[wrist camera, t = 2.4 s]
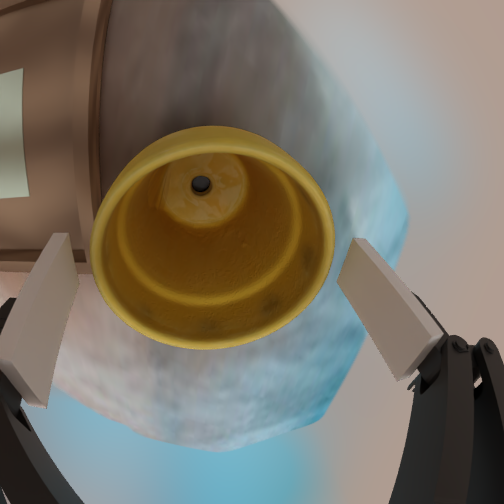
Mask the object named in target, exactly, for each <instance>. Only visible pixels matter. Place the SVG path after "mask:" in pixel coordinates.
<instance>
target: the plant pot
mask: <svg viewBox="0 0 504 504" xmlns="http://www.w3.org/2000/svg"><path fill="white" fill-rule="evenodd" d="M197 176H204V177H207V178H208V179H209V180H210V186H209V188H208V189H207V190H206V191H205V192H197V191H195V190H194V189H193V187H192V181H193V179H194V178H195V177H197ZM334 247H335V230H334V222H333V218H332V213H331V210H330V207H329V205H328V202H327V200H326V198H325V196H324V194H323V192H322V190H321V189H320V187H319V186H318V184H317V183H316V182H315V180H314V179H313V178H312V176H311V175H310V174H309V173H308V172H307V171H306V170H305V169H304V168H303V167H302V166H301V165H300V164H299V163H298V162H297V161H296V160H295V159H293V158H292V157H291V156H290V155H289V154H287V153H286V152H285V151H284V150H282V149H281V148H279V147H278V146H277V145H275V144H274V143H272V142H270V141H269V140H267V139H265V138H263V137H261V136H259V135H257V134H254V133H251V132H249V131H245V130H242V129H238V128H233V127H226V126H200V127H193V128H189V129H184V130H180V131H177V132H174V133H172V134H169V135H167V136H165V137H163V138H161V139H159V140H157V141H155V142H153V143H152V144H150V145H149V146H147V147H146V148H145V149H143V150H142V151H141V152H140V153H138V154H137V155H136V156H135V157H134V158H133V159H132V160H131V161H130V162H129V163H128V164H127V165H126V167H125V168H124V169H123V170H122V171H121V173H120V174H119V175H118V177H117V178H116V180H115V181H114V183H113V184H112V186H111V187H110V189H109V191H108V192H107V194H106V196H105V198H104V199H103V201H102V203H101V205H100V207H99V210H98V212H97V215H96V218H95V221H94V223H93V227H92V232H91V237H90V263H91V269H92V273H93V276H94V280H95V282H96V285H97V287H98V289H99V291H100V293H101V295H102V297H103V299H104V300H105V302H106V303H107V305H108V306H109V307H110V309H111V310H112V311H113V312H114V313H115V314H116V315H117V316H118V317H119V318H120V319H121V320H122V321H124V322H125V323H126V324H127V325H128V326H130V327H131V328H133V329H134V330H136V331H138V332H139V333H141V334H143V335H145V336H147V337H149V338H151V339H153V340H156V341H158V342H161V343H164V344H168V345H172V346H176V347H181V348H188V349H220V348H228V347H234V346H238V345H242V344H246V343H249V342H252V341H255V340H257V339H260V338H262V337H264V336H267V335H269V334H271V333H272V332H275V331H277V330H278V329H280V328H281V327H283V326H285V325H286V324H288V323H289V322H290V321H292V320H293V319H294V318H295V317H297V316H298V315H299V314H300V313H301V312H302V311H303V310H304V309H305V308H306V307H307V306H308V305H309V304H310V303H311V302H312V300H313V299H314V298H315V296H316V295H317V294H318V292H319V290H320V289H321V287H322V286H323V284H324V282H325V280H326V278H327V275H328V273H329V270H330V267H331V263H332V259H333V255H334Z"/></svg>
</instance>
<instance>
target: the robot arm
mask: <svg viewBox="0 0 504 504" xmlns="http://www.w3.org/2000/svg"><path fill="white" fill-rule="evenodd" d="M337 283H338V285H339V286H340V288H341V290H342V291H343V293H344V294H345V296H346V297H347V299H348V301H349V302H350V304H351V305H352V307H353V308H354V310H355V312H356V313H357V315H358V317H359V318H360V320H361V321H362V323H363V325H364V326H365V328H366V330H367V331H368V333H369V335H370V336H371V338H372V340H373V341H374V343H375V345H376V346H377V348H378V350H379V351H380V353H381V354H382V356H383V358H384V360H385V362H386V363H387V365H388V367H389V368H390V370H391V372H392V374H393V375H394V377H395V379H396V381H400V380H403V379H406V378H409V377H410V376H411V375H412V374H413V372H414V371H415V370H416V369H418V371H419V372H420V374H419V375H418V376H417V377H416V378H415V379H414V380H413V381H412V383H411V384H410V385H409V386H408V389H407V390H410V389H411V388H412V386H413V385H415V388H414V389H413V390H412V391H413V392H414V398H413V405H412V411H411V417H410V423H409V428H408V433H407V438H406V443H405V447H404V451H403V455H402V460H401V464H400V467H399V471H398V475H397V478H396V482H395V485H394V488H393V492H392V495H391V498H390V501H389V504H504V364H503V361H502V359H501V356H500V353H499V351H498V349H497V347H496V345H495V344H494V342H493V341H492V340H490V339H488V338H481V339H480V340H479V341H478V343H477V344H476V345H468V344H467V342H466V341H465V340H464V339H462V338H461V337H459V336H457V335H450V336H449V335H448V333H447V332H446V331H445V330H444V328H443V327H442V326H441V324H440V323H439V322H438V321H437V319H436V318H435V316H434V315H433V314H431V311H430V310H429V309H428V308H427V307H426V305H425V304H424V303H423V301H422V300H421V299H420V298H419V297H418V296H417V295H415V294H414V293H413V292H412V291H410V290H409V288H408V287H407V286H406V285H405V284H404V282H403V281H402V280H401V279H400V278H399V277H398V275H397V274H396V273H395V272H394V271H393V270H392V268H391V267H390V266H389V265H388V264H387V263H386V261H385V260H384V259H383V258H382V257H381V256H380V255H379V254H378V252H377V251H376V250H375V249H374V248H373V247H372V246H371V245H370V244H369V242H368V241H367V240H366V239H362V238H353V239H352V242H351V245H350V248H349V250H348V253H347V256H346V259H345V261H344V264H343V266H342V269H341V272H340V274H339V277H338V279H337ZM79 284H80V283H79V279H78V275H77V271H76V267H75V262H74V257H73V253H72V248H71V243H70V237H69V233H53V235H52V236H51V238H50V240H49V241H48V243H47V244H46V246H45V248H44V249H43V251H42V253H41V254H40V256H39V258H38V260H37V261H36V263H35V265H34V267H33V268H32V270H31V272H30V274H29V276H28V277H27V279H26V281H25V283H24V285H23V287H22V289H21V291H20V293H19V295H18V297H17V298H9V299H8V300H7V301H6V302H5V303H4V304H3V305H2V306H1V308H0V504H7V502H6V499H5V497H4V494H3V491H4V493H5V495H6V496H7V498H8V500H9V501H10V503H11V504H84V503H83V501H82V500H81V499H80V498H79V496H78V495H77V494H76V493H75V491H74V490H73V489H72V487H71V486H70V485H69V483H68V482H67V481H66V479H65V478H64V477H63V475H62V474H61V472H60V471H59V469H58V468H57V466H56V465H55V463H54V462H53V460H52V459H51V458H50V456H49V454H48V453H47V451H46V449H45V448H44V446H43V445H42V443H41V441H40V440H39V438H38V436H37V434H36V433H35V431H34V429H33V427H32V425H31V423H30V422H29V420H28V418H27V416H26V414H25V412H24V410H23V409H22V407H21V406H20V404H21V399H22V398H23V399H24V400H25V401H26V402H27V404H28V405H30V406H34V407H40V408H45V409H47V404H48V399H49V393H50V388H51V383H52V378H53V374H54V369H55V365H56V360H57V356H58V352H59V348H60V345H61V341H62V337H63V334H64V330H65V327H66V323H67V320H68V317H69V313H70V310H71V307H72V304H73V301H74V298H75V295H76V292H77V289H78V286H79ZM480 377H481V378H482V382H481V384H480V385H479V386H478V387H477V388H475V387H474V383H475V382H476V381H477V379H479V378H480ZM1 487H2V488H1ZM2 489H3V491H2Z"/></svg>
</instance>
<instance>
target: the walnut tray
mask: <svg viewBox="0 0 504 504" xmlns="http://www.w3.org/2000/svg"><path fill="white" fill-rule="evenodd" d="M111 5H112V0H0V271H5V272H31V270H32V268H33V267H34V265H35V263H36V261H37V260H38V258H39V256H40V254H41V253H42V251H43V249H44V248H45V246H46V244H47V243H48V241H49V240H50V238H51V236H52V235H53V233H69V237H70V243H71V248H72V253H73V257H74V262H75V267H76V271H77V274H93V273H92V269H91V263H90V237H91V232H92V227H93V223H94V221H95V218H96V215H97V212H98V210H99V207H100V205H101V203H102V199H101V184H100V163H99V110H100V90H101V76H102V65H103V56H104V48H105V40H106V33H107V27H108V21H109V15H110V10H111Z"/></svg>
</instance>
